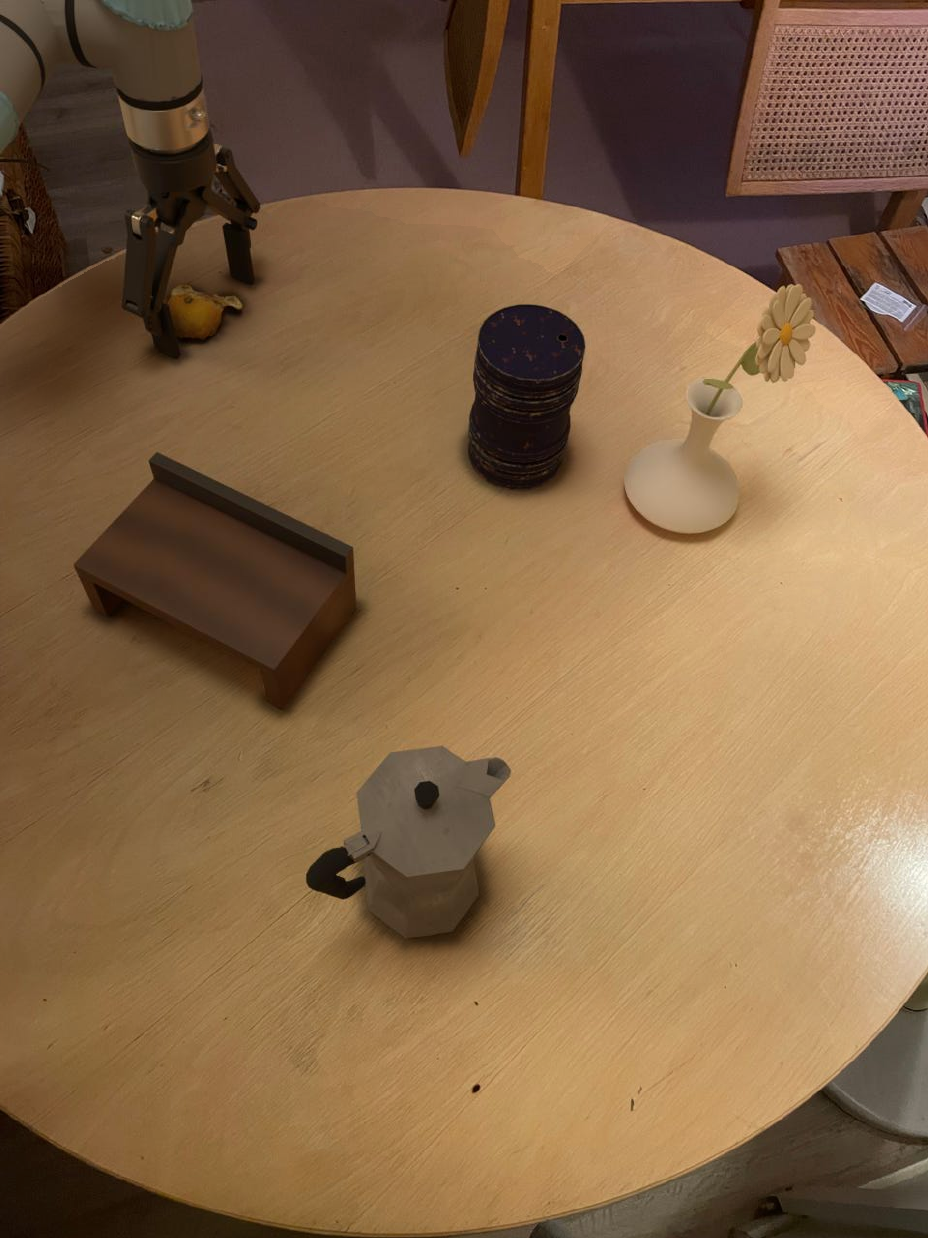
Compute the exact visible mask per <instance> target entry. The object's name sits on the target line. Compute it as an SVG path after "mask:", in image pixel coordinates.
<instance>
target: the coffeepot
mask: <svg viewBox="0 0 928 1238" xmlns="http://www.w3.org/2000/svg"><path fill="white" fill-rule="evenodd" d="M511 772H512V770H511V768H510V766H509V765H508V764H507V762H505V760H503V759H502V758H499V757H497V756H495V757H485V758H480V759H475V760H469V761H468V760H467V761H466V760H465V759H463V758H462V757H460V756H458V755H457V754H456V753H454V752H453V751H451V750H450V749H448V748H447V747H445V746H444V745H436V746H429V747H421V748H413V749H406V750H399V751H390V752H389V753H388V754H387V755H386V756H385V758H384V759H383V760H382V761H381V763H379V765H378V766H377V767H376V768H375V769H374V771H373V772H372V773H371V774H370V775H369V777H368V778H367V779H366V780H365V782H364V783H363V784H362V785H361V786H360V788H359V789H358V790H357V791H356V799H357V809H358V817H359V825H360V830H359V831H358V832H356V833H354V834H353V835H351V836H349V837H347V838H345V839H343V845H342V846H339V847H333V848H331V849H328V850H326V851H325V852H323V853H322V854H321V855H320V856H319V857H318V858H317V859H316V860H315V861H314V862H313V863H312V864H311V865H310V866H309V868H308V869H307V872H306V874H305V882H306V884H307V887H308V888H309V889H310V890H313V891H315V892H318V893H322V894H324V895H327V896H330V897H334V898H337V899H339V900H347V899H349V898H351V897H352V896H354V895H356V893H358V892H359V891H360V890H361V889H363V888H364V887H365V893H366V902H367V903H366V904H367V911H368V912H370V913H371V914H372V915H374V916H375V917H376V918H377V919H378V920H379V921H381V922H382V923H383V924H385V925H386V926H387V927H389V928H390V929H392V930H393V931H394V932H395V933H398V934H399V935H400V936H401V937H403V938H404V939H412V938H418V937H422V938H423V937H431V936H434V935H439V934H446V933H451V932H453V931H454V930H455V929H456V927H457V926H458V924H459V923H460V922H461V920H462V919H463V918H464V917H465V915H466V914H467V912H468V911H469V909H470V908H471V906H472V905H473V903H474V902H475V901H476V899H477V898H478V896H479V895H480V892H479V885H478V880H477V874H476V868H475V863H474V858H475V857H476V856H477V854H478V852H479V851H480V850H481V848H482V846H483V845H485V843H486V842H487V839H488V838H489V836H490V835H491V834H492V832H493V831H494V829H495V828H496V822H495V815H494V810H493V805H492V800H491V798H492V797H493V796H494V795H495V793H496V792H497V791H499V789H500V788H501V787H502V786H503V785H504V784H505V783H506V782H507V781H508V779H509V778H510V777H511ZM364 860H365V861H364ZM362 861H364V863H363V865H362V868H363V876H358V877H355V878H353V879H350V880H346V878H345V877H343V876H341V875H338V874H339V873H341V872H342V871H345V870H346V869H347V868H348V867H350V866H353V865H355V864H357V863H360V862H362Z"/></svg>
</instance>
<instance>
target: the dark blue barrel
mask: <svg viewBox="0 0 928 1238" xmlns="http://www.w3.org/2000/svg"><path fill="white" fill-rule="evenodd" d="M476 345H477V346H476V352H475V355H474V362H473V363H474V364H473V373H472V382H473V389H474V393H475V394H474V400H473V403H472V404H471V408H470V410H469V411H470V412H469V415H468V429H467V430H468V432H467V433H468V435H467V436H468V445H467V456H468V460H469V463H470V465H471V467H472V469H473V471H475V473H476V474H477V475H478V476H479V477H481V478H482V479H483V480H485V481H486V482H487V483H489V484H490V485H493V486H495V487H497V488H501V489H505V490H511V491H527V490H533V489H536V488H538V487H542V486H544V485H545V484H547V483H548V482H550V481H551V480H552V479H554V477H556V475H558V473H559V471H560V469H561V467H562V464H563V458H564V454H565V451H566V449H567V445H568V441H569V434H570V433H571V429H572V428H571V425H572V423H571V422H572V421H571V408H572V406H573V404H574V402H575V400H576V399H577V395H578V393H579V388H580V383H581V377H582V372H583V363H584V362H583V361H584V359H585V354H586V353H585V352H586V339H585V335H584V334H583V332H582V330H581V328H580V327H579V326H578V324H577V323H576V322H575V321H574V320H573V319H572V318H570V317H569V316H567V314H565V313H562V312H561V311H558V310H557V309H555V308H552V307H549V306H545V305H538V304H533V303H532V304H530V303H521V304H519V303H518V304H513V305H509V306H505V307H502V308H500V309H498V310H496V311H494V312H492V313H491V314H490V315H489V316H488V317H486V319H485V320H484V321H483V322H482V324H481V325H480V328H479V330H478V334H477V344H476Z"/></svg>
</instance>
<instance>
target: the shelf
mask: <svg viewBox="0 0 928 1238" xmlns="http://www.w3.org/2000/svg"><path fill="white" fill-rule="evenodd" d="M148 464H149V468H150V470H151V474H152V478H153V479H152V480H151V481H150V482H149V483H148V484H147V485H146V486H145V487H144V489H143V490H142V491H140V492H139V494H138V495H137V496H136V497H135V498H134V499H133V500H132V501H131V502H130V503H129V505H127V507H125V509H124V510H123V511H122V512H121V513H120V514H119V515H118V516H117V517H116V518H115V519H114V521H112V522H111V524H110V525H109V526H108V527H107V528H106V529H105V530H104V531H103V532H102V533H101V534H100V535H99V536H98V538H96V539H95V540H94V542H93V543H92V544H91V545H90V546H89V547H88V548H87V549H86V550H85V551H84V553H82V554H81V556H80V557H79V558H78V559H77V560H76V561H75V562H74V563H73V567H74V569H75V572H76V574H77V575H78V578H79V580H80V583H81V584H82V587H83V589H84V591H85V593H86V596H87V598H88V600H89V602H90V604H91V607H92V609H93V610H94V611H95V612H97V613H99V614H101V615H103V616H105V617H107V618H108V617H109V616H110V615H111V614H112V613H113V612H114V611H115V610H116V608H117V607H118V606H119V605H120V604H121V603H122V602H123V600H125V601H127V602H129V603H131V604H133V605H135V606H136V607H139V608H141V609H142V610H144V611H147V612H148V613H150V614H152V615H154V616H156V617H157V618H159V619H161V620H164V621H165V622H166V623H169V624H171V625H173V626H175V627H177V628H179V629H181V631H184V632H185V633H186V632H187V633H188V634H190V635H192V636H193V637H196V638H198V639H199V640H201V641H203V642H205V643H208V644H209V645H210V646H212V647H215V648H217V649H218V650H221V651H222V652H224V653H226V654H228V655H229V656H232V657H233V658H235V659H238V660H240V661H241V662H243V663H245V664H247V665H249V666H250V667H252V668H255V669H257V670H259V672H260V673H259V674H260V676H261V677H260V678H261V680H262V686H263V690H264V695H265V700H266V702H267V703H268V704H270V705H272V706H273V707H275V708H277V709H279V710H281V711H283V710H284V709H285V708H286V706H287V704H288V703H289V702H290V700H291V699H292V698H293V696H294V695H295V694H296V692H297V691H298V689H299V688H300V686H301V685H302V684H303V682H305V680H306V679H307V677H308V676H309V674H310V673H311V672H312V670H313V669H314V667H315V666H316V664H317V663H318V662H319V660H321V658H322V656H323V655H324V653H326V651H327V650H328V648H329V647H330V646H331V644H332V642H333V641H334V640H335V638H336V637H337V636H338V634H339V633H340V632H341V630H342V629H343V628H344V626H345V625H346V624H347V622H348V620H349V619H350V618H351V617H352V615H353V614H354V613H355V611H356V610H357V595H356V575H355V559H354V558H355V557H354V556H355V554H354V546H352V545H349V544H348V543H346V542H344V541H342V540H340V539H337V538H335V537H333V536H331V535H329V534H328V533H325V532H324V531H321V530H319V529H317V528H315V527H313V526H311V525H308V524H307V523H304V522H302V521H301V520H298V519H296V518H294V517H292V516H290V515H288V514H286V513H284V512H282V511H279V510H278V509H276V508H273V507H272V506H270V505H267V504H266V503H263V502H261V501H259V500H257V499H255V498H253V497H251V496H249V495H247V494H245V493H243V492H240V491H238V490H236V489H235V488H232V487H231V486H228V485H227V484H225V483H222V482H220V481H219V480H216V479H214V478H212V477H210V476H207V475H206V474H204V473H202V472H199V471H197V470H195V469H194V468H191V467H189V466H186V465H185V464H183V463H181V462H178V461H177V460H174V459H172V458H171V457H168V456H166V455H165V454H162V453H161V452H158V451H156V452H155V453H154V454H153V455H152V456H151V457H150V458H149V459H148Z"/></svg>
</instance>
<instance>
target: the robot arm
mask: <svg viewBox="0 0 928 1238" xmlns="http://www.w3.org/2000/svg"><path fill="white" fill-rule="evenodd" d="M193 7H194V6H193V1H192V0H0V155H1V154H2V153H3V151H4V150H5V148H6V147H7V146H8V145H9V144H10V143H12V142H13V141H14V140H15V138H16V137H17V135H18V133H19V127H20V126H21V124H22V122H23V120H24V119H25V118H26V116H27V114H28V112H29V111H30V109H31V107H32V105H33V104H34V102H35V100H36V99H37V98H38V96H39V95H40V94H41V93H42V91H43V90H44V88H45V86H46V84H48V81H49V80H50V78H51V77H52V75H53V73H54V72H55V70H56V68H57V67H58V65H67V66H75V67H85V68H92V69H98V68H100V69H108V70H110V72H111V76H112V79H113V82H114V85H115V90H116V93H117V94H116V95H117V97H118V102H119V106H120V110H121V115H122V119H123V123H124V128H125V132H126V136H127V137H128V144H129V149H130V153H131V156H132V157H131V158H132V161H133V165H134V168H135V173H136V175H137V177H138V178H139V180H140V182H141V183H142V184H143V186H144V188H145V190H146V202H145V203H146V204H145V206H144V207H143V208H141V209H139V210H138V211H137V210H134V209H133V208H128V209H126V211H125V213H124V222H125V227H126V233H127V237H126V248H125V259H124V260H125V261H124V270H123V273H124V274H123V285H122V297H121V308H122V309H123V311H126V312H128V313H130V314H133V315H134V316H137V317H139V318H142V320H143V324H144V328H145V330H146V331H147V333H149V334H150V335H151V338H152V343H153V345H154V349H155V350H157V351H159V352H161V353H164V354H165V355H168V356H170V357H172V358H174V359H177V358H178V357H179V356H180V355H181V349H180V347H179V342H178V337H176V333H175V329H174V325H173V321H172V317H171V312H170V308H169V305H167V303H165V302H164V300H165V297H166V293H167V289H168V286H169V281H170V277H171V274H172V270H173V266H174V261H175V257H176V255H177V250H178V247H179V246H182V245H183V244H184V241H185V238H186V237H185V236H186V233H187V231H188V230H189V229H191V227H192V226H193V225H194V224H195V222H196V221H199V220H201V218H203V217H204V216H205V211H206V210H207V208H208V209H209V210H211V211H212V212H214V213H216V214H217V215H218V216H220V217H221V218H223V219H225V220H226V221H229V222H230V223H229V222H225V223H224V224H223V225H221V228H222V234H223V239H224V245H225V250H226V256H227V263H228V269H229V275H230V277H232V278H235V279H238V280H239V281H242V282H244V283H247V284H249V285H252V284H253V283H254V282H255V281H256V279H255V274H254V266H253V259H252V254H251V248H252V240H251V233H250V230H251V231H255V230H256V229H257V227H258V219H256V218H255V217H252V215H253V214H256V215H257V214H258V213H259V212H260V210H261V203H260V201H259V199H258V198H257V196H256V195H255V194H254V192H253V190H252V189H251V188H250V186H249V185H248V183H247V182H246V180H245V178H244V177H243V175H242V173H240V171H239V169H238V168H237V166H236V164H235V159H234V155H233V151H232V149H230V148H229V147H225V146H223V145H221V144H219V143H218V144H217V143H215V142H214V137H213V133H212V131H211V130H212V129H211V128H210V127H211V124H210V119H209V112H208V107H207V101H206V96H205V95H206V94H205V89H204V81H203V80H204V79H203V75H202V70H201V63H200V57H199V49H198V42H197V36H196V29H195V21H194V10H193ZM214 177H215V178H216V179H217V181H218V182H219V183H220V185H221V186H222V188H223V189H224V190H225V192H226V193H227V195H228V196H229V198H230V199H231V200H232V202H233V203H234V204H231V202H229V201H227V200H225V199H224V197H223V196H222V195H220V194H218V193H216V192H215V191H214V190H213V189H212V185H213V181H214ZM162 224H163V225H165V226H167V227H169V228H171V229H173V231H172V232H173V233H172V232H169V231H166V230H164V229H162V228H161V227H162Z"/></svg>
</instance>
